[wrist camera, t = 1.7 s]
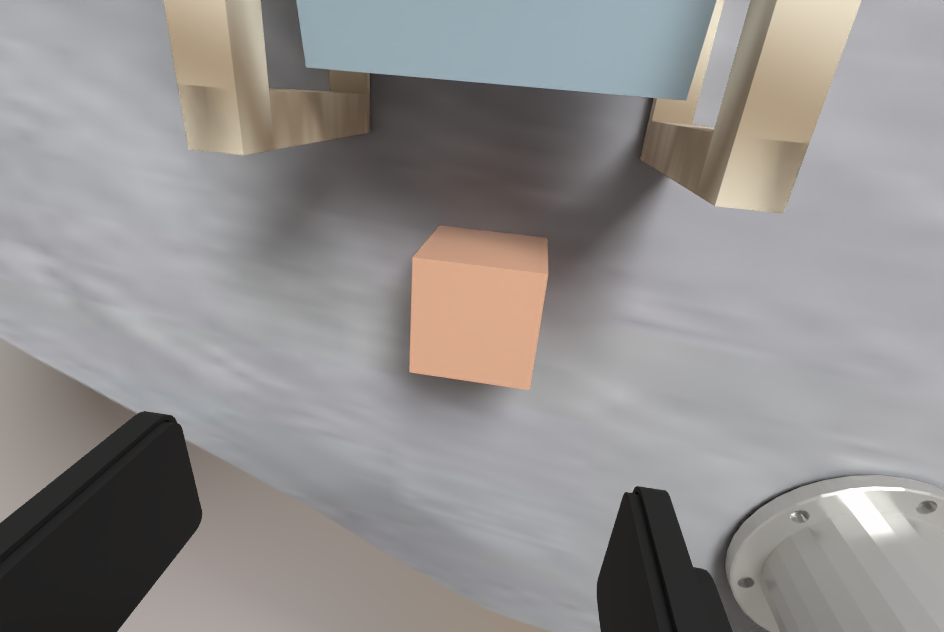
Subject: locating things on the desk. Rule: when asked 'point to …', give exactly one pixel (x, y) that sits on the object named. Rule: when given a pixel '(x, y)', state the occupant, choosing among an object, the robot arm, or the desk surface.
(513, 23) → the trapdoor plate
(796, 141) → the frame
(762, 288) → the desk surface
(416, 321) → the terracotta block
